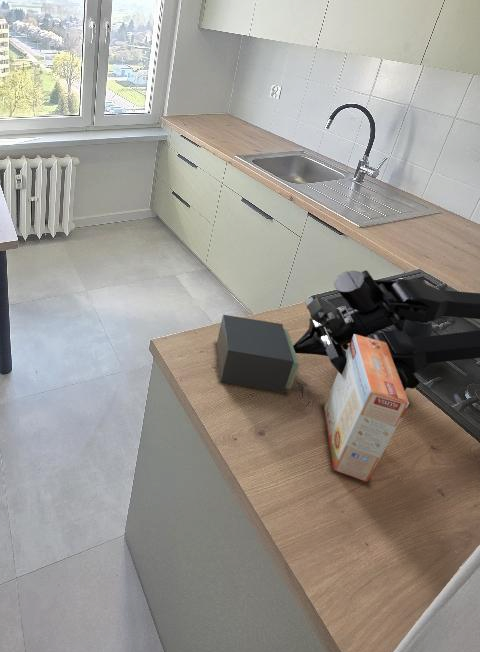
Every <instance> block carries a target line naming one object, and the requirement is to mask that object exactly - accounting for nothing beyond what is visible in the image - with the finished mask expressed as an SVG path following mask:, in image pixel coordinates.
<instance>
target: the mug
mask: <svg viewBox="0 0 480 652" xmlns="http://www.w3.org/2000/svg"><path fill="white" fill-rule="evenodd" d="M432 323H433V321H420V322H413V321H408V320H406V321H405V322H404V327H403V329H404V331H405V332H406V334H407V335H408V336H412V337H416V338H418V337H427V336H432V335H433V333H434V327H433V324H432ZM395 329H397V328H396V327H395V326H394V325H392V326H390V327H389V330H395Z"/></svg>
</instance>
